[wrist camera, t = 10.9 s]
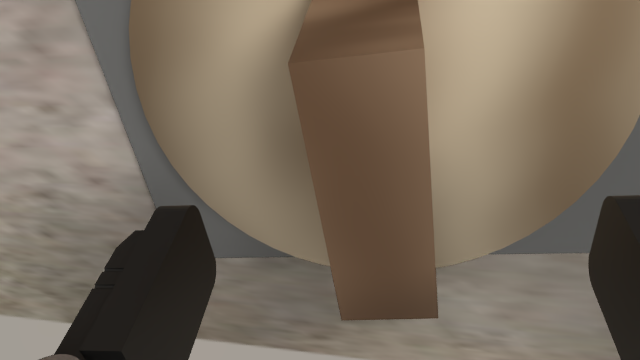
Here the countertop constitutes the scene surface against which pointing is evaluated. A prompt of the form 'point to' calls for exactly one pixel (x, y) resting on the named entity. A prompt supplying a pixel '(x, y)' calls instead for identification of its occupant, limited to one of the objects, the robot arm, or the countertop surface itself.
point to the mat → (230, 242)
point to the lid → (388, 124)
